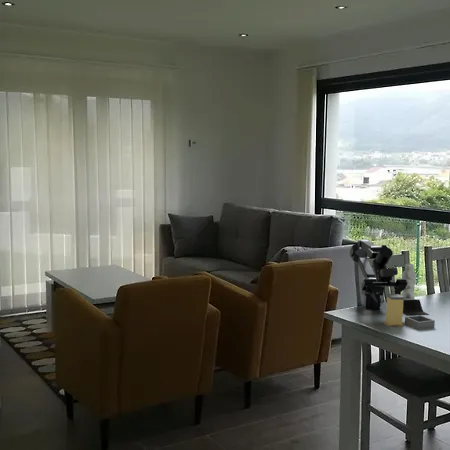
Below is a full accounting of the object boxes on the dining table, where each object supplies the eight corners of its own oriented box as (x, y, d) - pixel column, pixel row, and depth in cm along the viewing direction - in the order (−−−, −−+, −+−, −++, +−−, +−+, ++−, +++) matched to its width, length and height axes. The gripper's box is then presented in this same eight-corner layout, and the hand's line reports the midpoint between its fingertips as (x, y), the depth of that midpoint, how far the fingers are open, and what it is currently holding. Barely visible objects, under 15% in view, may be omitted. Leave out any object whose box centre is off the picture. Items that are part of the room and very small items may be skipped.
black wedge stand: (410, 315, 258) (404, 293, 263) (400, 321, 263) (394, 300, 269) (431, 316, 262) (425, 295, 267) (421, 323, 268) (415, 302, 273)
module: (385, 321, 249) (387, 294, 247) (397, 321, 249) (399, 294, 248) (390, 325, 244) (391, 297, 242) (402, 325, 244) (403, 297, 243)
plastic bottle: (416, 307, 278) (418, 264, 275) (412, 310, 272) (414, 266, 270) (402, 304, 281) (404, 262, 279) (398, 307, 275) (400, 264, 273)
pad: (386, 328, 242) (386, 325, 242) (381, 322, 250) (381, 320, 250) (406, 328, 243) (406, 326, 242) (400, 323, 250) (400, 320, 250)
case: (391, 319, 255) (391, 311, 255) (407, 318, 258) (407, 310, 258) (418, 330, 240) (418, 322, 239) (434, 328, 243) (434, 320, 243)
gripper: (364, 260, 255) (371, 291, 246) (407, 260, 257) (415, 292, 247) (358, 274, 264) (364, 305, 255) (399, 274, 266) (407, 305, 256)
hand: (388, 301), depth 253 cm, fingers open, 9 cm apart
